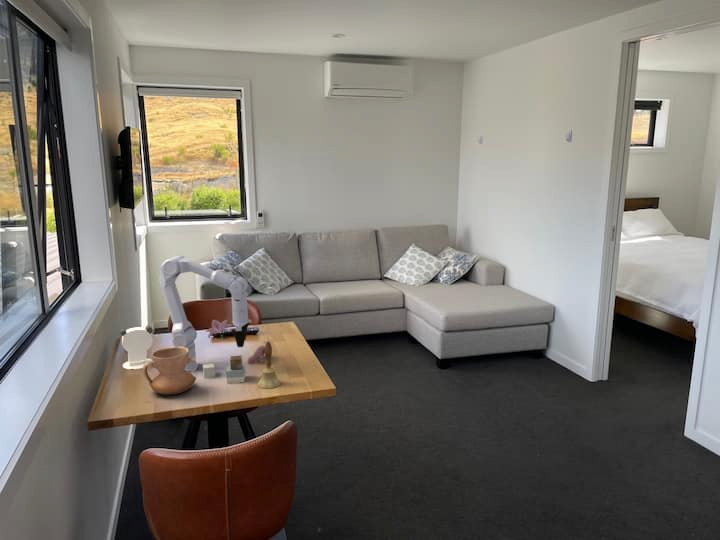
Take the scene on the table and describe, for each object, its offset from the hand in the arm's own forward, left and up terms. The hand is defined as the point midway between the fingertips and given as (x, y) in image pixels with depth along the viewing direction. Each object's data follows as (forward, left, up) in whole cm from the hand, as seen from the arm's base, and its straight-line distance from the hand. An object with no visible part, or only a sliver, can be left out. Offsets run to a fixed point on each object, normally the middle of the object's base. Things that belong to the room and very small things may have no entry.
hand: (241, 343), depth 207 cm
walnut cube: (-1, -10, -6) cm, 12 cm away
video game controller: (+5, +9, -11) cm, 15 cm away
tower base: (-1, -10, -11) cm, 15 cm away
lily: (-15, +40, -11) cm, 44 cm away
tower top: (-2, -10, -8) cm, 13 cm away
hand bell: (+11, -16, -11) cm, 22 cm away
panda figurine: (-42, +11, -11) cm, 45 cm away
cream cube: (-12, -5, -10) cm, 17 cm away
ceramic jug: (-23, -17, -11) cm, 31 cm away
